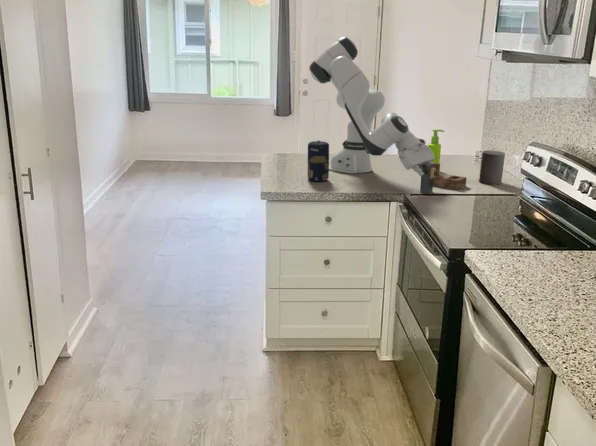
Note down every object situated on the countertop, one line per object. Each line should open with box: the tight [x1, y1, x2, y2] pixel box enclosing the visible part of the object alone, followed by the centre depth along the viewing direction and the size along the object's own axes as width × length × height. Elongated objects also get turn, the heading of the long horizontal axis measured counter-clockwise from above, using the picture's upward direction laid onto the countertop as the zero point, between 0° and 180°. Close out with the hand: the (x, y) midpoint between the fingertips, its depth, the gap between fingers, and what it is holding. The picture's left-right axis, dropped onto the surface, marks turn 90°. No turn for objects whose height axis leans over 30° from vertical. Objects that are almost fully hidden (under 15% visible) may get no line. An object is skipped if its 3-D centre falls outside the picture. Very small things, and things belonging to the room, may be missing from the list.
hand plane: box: [433, 162, 467, 191], centre depth 258 cm, size 15×8×9 cm, turn 50°
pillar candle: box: [478, 149, 506, 186], centre depth 263 cm, size 10×10×15 cm
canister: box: [307, 139, 330, 182], centre depth 265 cm, size 10×10×18 cm
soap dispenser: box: [427, 129, 445, 164], centre depth 284 cm, size 6×7×20 cm
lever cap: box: [419, 163, 434, 194], centre depth 246 cm, size 4×5×12 cm
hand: (428, 173), depth 246 cm, fingers open, 8 cm apart
